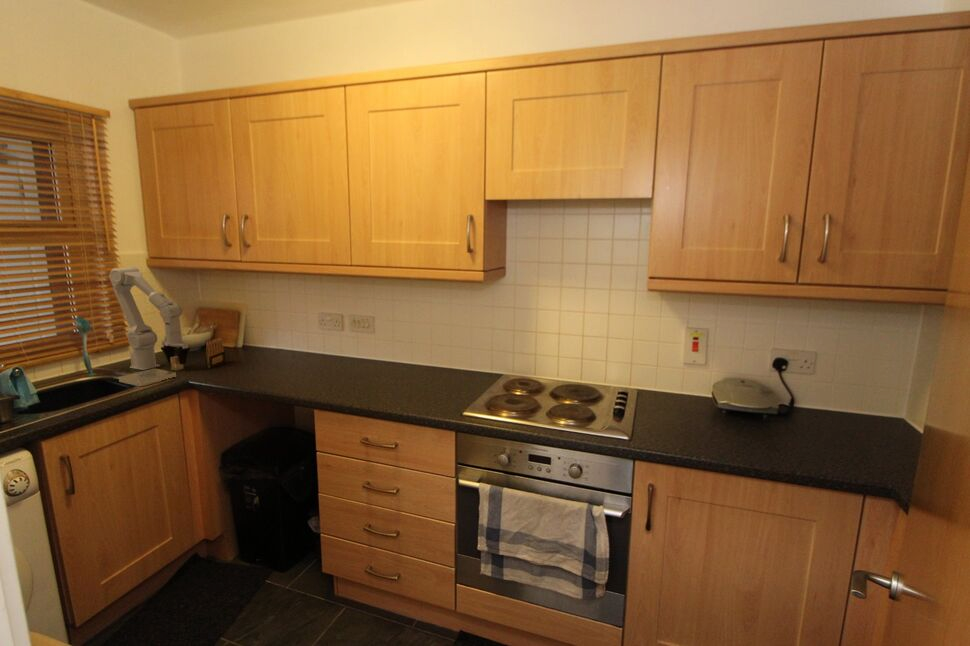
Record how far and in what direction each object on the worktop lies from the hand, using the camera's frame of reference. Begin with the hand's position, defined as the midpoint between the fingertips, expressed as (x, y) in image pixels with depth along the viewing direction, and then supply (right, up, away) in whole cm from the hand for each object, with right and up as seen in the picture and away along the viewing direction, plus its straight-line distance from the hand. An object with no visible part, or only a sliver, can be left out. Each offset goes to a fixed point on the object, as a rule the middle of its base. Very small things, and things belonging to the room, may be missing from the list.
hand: (177, 363), depth 217 cm
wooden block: (0, -3, +1) cm, 3 cm away
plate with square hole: (-3, -6, -14) cm, 16 cm away
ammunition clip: (+13, -2, +8) cm, 15 cm away
